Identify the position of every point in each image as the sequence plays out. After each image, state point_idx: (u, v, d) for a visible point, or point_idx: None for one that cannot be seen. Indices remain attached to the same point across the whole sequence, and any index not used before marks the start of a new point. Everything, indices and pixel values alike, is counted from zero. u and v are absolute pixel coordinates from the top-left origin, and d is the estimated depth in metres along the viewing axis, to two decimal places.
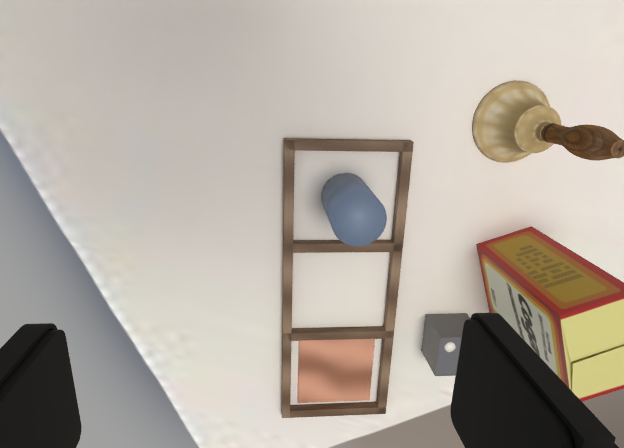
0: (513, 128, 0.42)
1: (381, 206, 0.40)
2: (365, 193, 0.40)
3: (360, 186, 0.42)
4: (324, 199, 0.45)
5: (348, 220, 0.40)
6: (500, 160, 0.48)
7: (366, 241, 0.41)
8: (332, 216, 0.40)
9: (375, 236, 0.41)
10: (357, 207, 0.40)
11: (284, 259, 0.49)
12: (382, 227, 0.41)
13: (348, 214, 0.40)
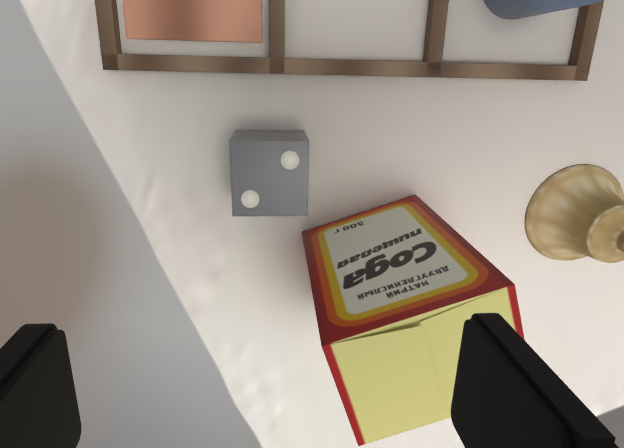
0: (622, 203, 0.32)
1: None
2: None
3: None
4: None
5: None
6: (533, 207, 0.36)
7: None
8: None
9: None
10: None
11: None
12: None
13: None
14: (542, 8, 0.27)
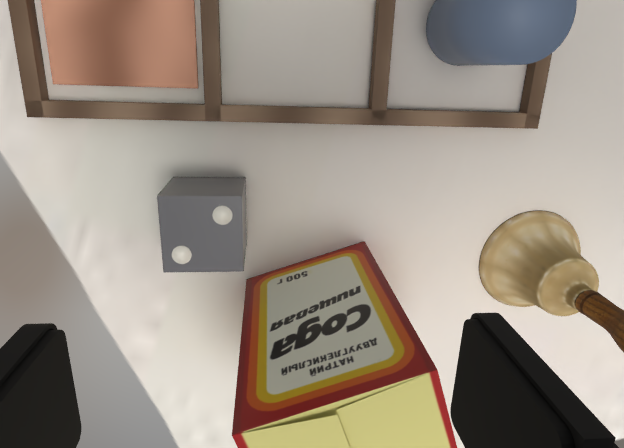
0: (572, 256, 0.31)
1: (545, 53, 0.23)
2: None
3: None
4: None
5: None
6: (487, 254, 0.35)
7: (486, 27, 0.23)
8: None
9: (493, 44, 0.23)
10: (552, 7, 0.23)
11: None
12: (508, 57, 0.23)
13: None
14: (482, 62, 0.26)
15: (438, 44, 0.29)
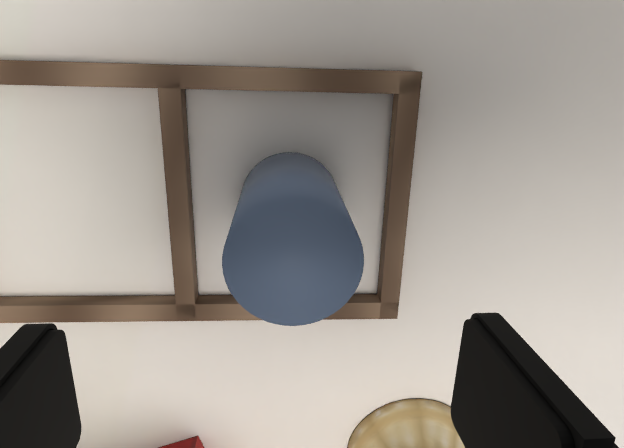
0: None
1: (328, 312, 0.17)
2: None
3: None
4: (297, 162, 0.20)
5: (293, 239, 0.16)
6: None
7: (235, 285, 0.16)
8: (304, 198, 0.15)
9: (250, 304, 0.16)
10: (327, 258, 0.16)
11: (137, 66, 0.20)
12: (274, 318, 0.17)
13: (309, 236, 0.16)
14: None
15: None
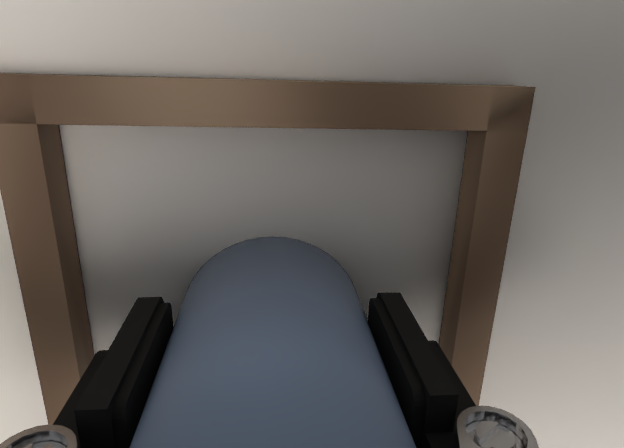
0: None
1: None
2: None
3: None
4: (286, 275, 0.10)
5: None
6: None
7: None
8: None
9: None
10: None
11: None
12: None
13: None
14: None
15: None
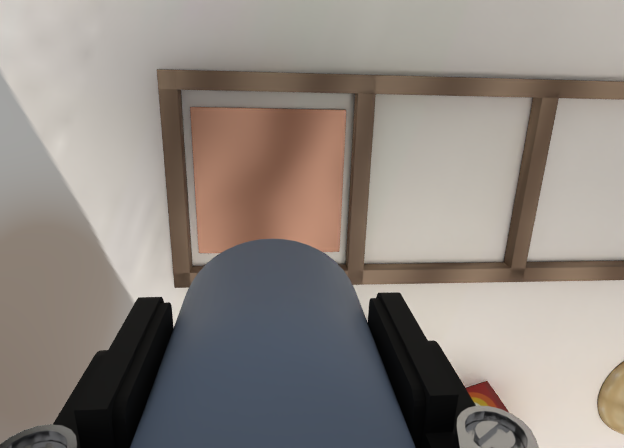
0: None
1: None
2: None
3: None
4: (286, 277, 0.10)
5: None
6: (608, 390, 0.35)
7: None
8: None
9: None
10: None
11: (532, 81, 0.26)
12: None
13: None
14: None
15: None
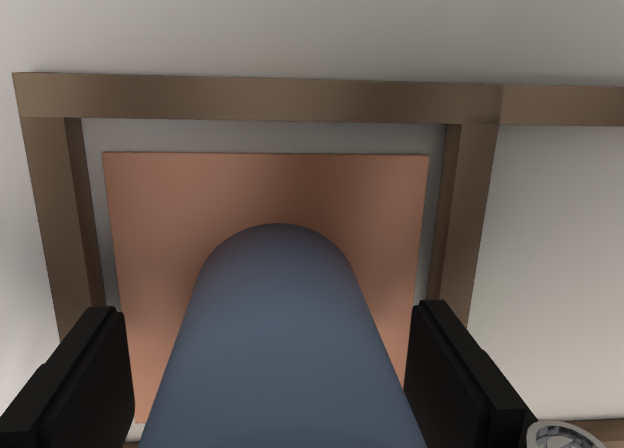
0: None
1: None
2: None
3: None
4: (291, 254, 0.11)
5: None
6: None
7: None
8: (315, 426, 0.06)
9: None
10: None
11: None
12: None
13: None
14: None
15: None
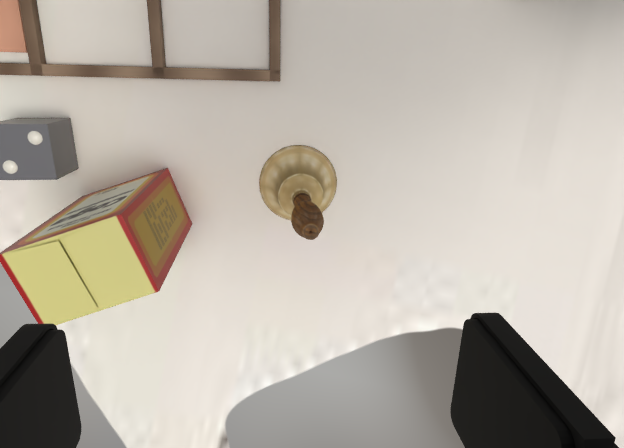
0: (301, 172, 0.43)
1: None
2: None
3: None
4: None
5: None
6: (261, 178, 0.48)
7: None
8: None
9: None
10: None
11: None
12: None
13: None
14: None
15: None
